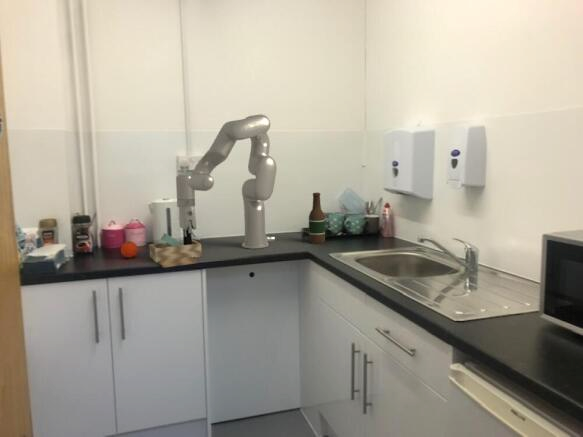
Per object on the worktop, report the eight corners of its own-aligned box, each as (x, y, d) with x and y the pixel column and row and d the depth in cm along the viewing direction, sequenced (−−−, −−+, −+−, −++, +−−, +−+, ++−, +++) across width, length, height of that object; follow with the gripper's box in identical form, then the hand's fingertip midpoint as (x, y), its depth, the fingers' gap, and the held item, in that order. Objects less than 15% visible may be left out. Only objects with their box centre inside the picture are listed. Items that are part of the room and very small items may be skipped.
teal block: (183, 252, 204) (187, 247, 204) (186, 254, 200) (190, 248, 200) (160, 238, 198) (164, 232, 199) (163, 240, 194) (167, 234, 195)
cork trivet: (191, 258, 196) (191, 256, 196) (198, 262, 188) (198, 261, 188) (158, 262, 190) (158, 261, 189) (163, 267, 182) (163, 265, 182)
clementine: (124, 255, 204) (123, 239, 203) (140, 254, 205) (139, 239, 204) (119, 259, 196) (118, 243, 195) (136, 259, 197) (135, 242, 196)
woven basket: (193, 251, 210) (193, 239, 209) (201, 256, 200) (201, 243, 199) (150, 256, 200) (149, 244, 200) (156, 262, 190) (155, 249, 190)
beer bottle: (309, 240, 230) (309, 192, 226) (325, 240, 229) (325, 191, 225) (308, 243, 222) (307, 193, 219) (324, 243, 221) (324, 193, 218)
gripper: (200, 204, 195) (201, 247, 197) (189, 201, 208) (191, 241, 210) (182, 205, 191) (184, 249, 194) (172, 202, 204) (174, 243, 207)
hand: (187, 245), depth 202 cm, fingers closed
